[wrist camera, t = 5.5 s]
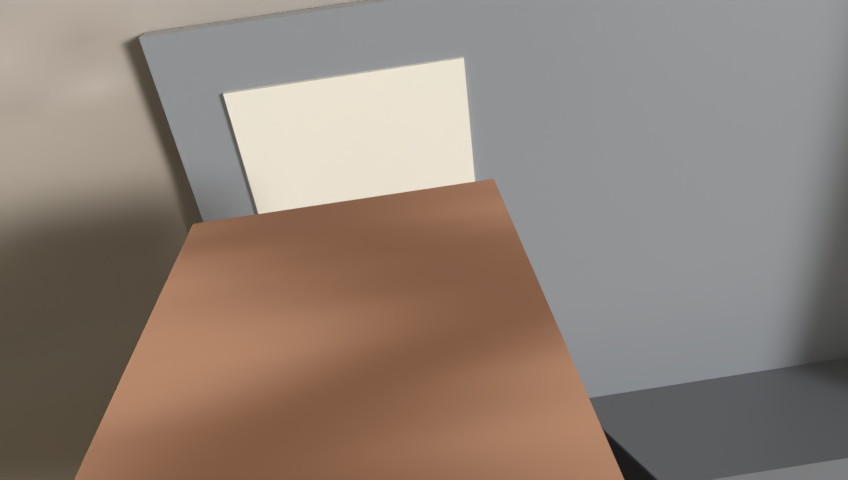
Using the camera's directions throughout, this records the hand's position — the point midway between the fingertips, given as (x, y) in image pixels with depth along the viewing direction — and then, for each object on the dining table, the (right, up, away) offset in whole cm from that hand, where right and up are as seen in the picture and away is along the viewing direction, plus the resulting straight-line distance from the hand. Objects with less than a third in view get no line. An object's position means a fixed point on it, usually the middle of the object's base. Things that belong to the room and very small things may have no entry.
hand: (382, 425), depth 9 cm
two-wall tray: (+5, +3, +6) cm, 8 cm away
